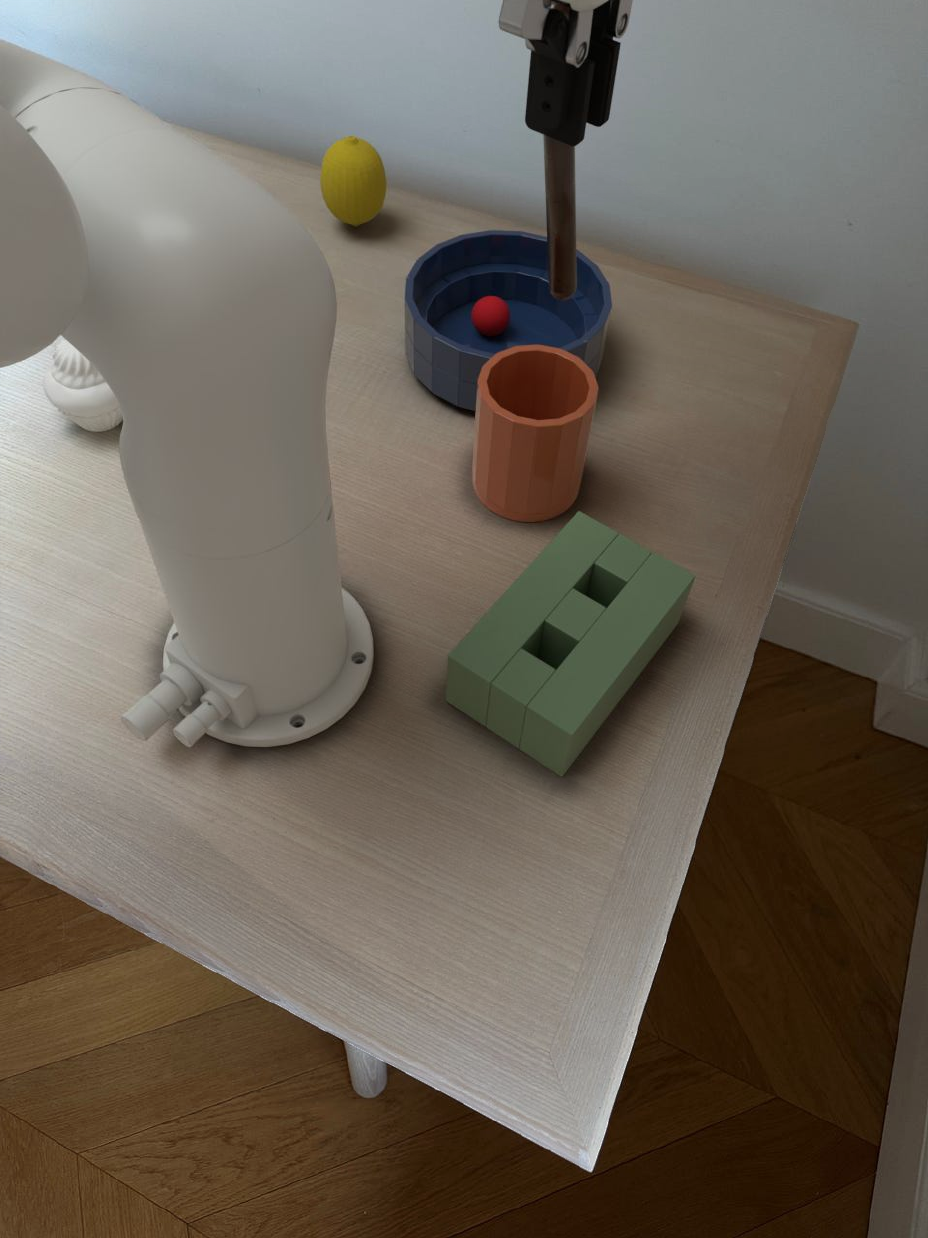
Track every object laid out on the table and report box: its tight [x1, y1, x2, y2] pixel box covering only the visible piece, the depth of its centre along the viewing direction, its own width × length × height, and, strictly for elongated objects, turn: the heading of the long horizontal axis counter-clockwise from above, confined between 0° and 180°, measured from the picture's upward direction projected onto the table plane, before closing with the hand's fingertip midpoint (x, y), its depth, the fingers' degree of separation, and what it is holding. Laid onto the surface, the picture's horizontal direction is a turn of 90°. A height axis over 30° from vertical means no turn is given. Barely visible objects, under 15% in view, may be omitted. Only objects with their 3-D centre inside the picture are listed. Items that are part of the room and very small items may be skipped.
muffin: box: [42, 338, 123, 433], centre depth 71 cm, size 6×6×7 cm
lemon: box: [319, 135, 387, 227], centre depth 85 cm, size 6×6×8 cm
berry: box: [471, 296, 510, 336], centre depth 78 cm, size 3×3×3 cm
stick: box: [542, 1, 577, 301], centre depth 53 cm, size 2×2×16 cm
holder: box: [445, 510, 696, 778], centre depth 61 cm, size 8×14×5 cm, turn 144°
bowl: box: [404, 229, 613, 412], centre depth 77 cm, size 15×15×6 cm
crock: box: [471, 345, 599, 523], centre depth 68 cm, size 8×8×9 cm
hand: (566, 123), depth 51 cm, fingers closed on stick, 1 cm apart
